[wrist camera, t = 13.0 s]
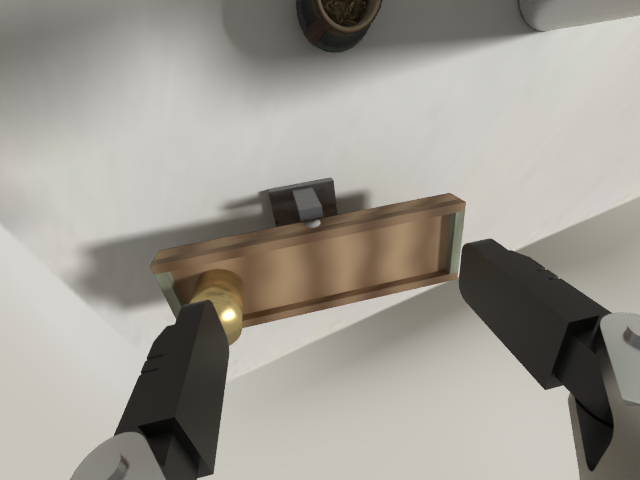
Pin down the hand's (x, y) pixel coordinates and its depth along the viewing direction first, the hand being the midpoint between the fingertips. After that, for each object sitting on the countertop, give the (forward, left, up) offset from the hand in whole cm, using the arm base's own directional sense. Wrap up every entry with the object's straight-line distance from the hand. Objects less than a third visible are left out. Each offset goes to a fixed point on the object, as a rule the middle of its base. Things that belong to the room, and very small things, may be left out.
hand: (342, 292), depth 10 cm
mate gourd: (-7, -11, -29) cm, 32 cm away
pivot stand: (-1, +13, -29) cm, 32 cm away
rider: (+10, +12, -20) cm, 25 cm away
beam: (-1, +13, -21) cm, 24 cm away
